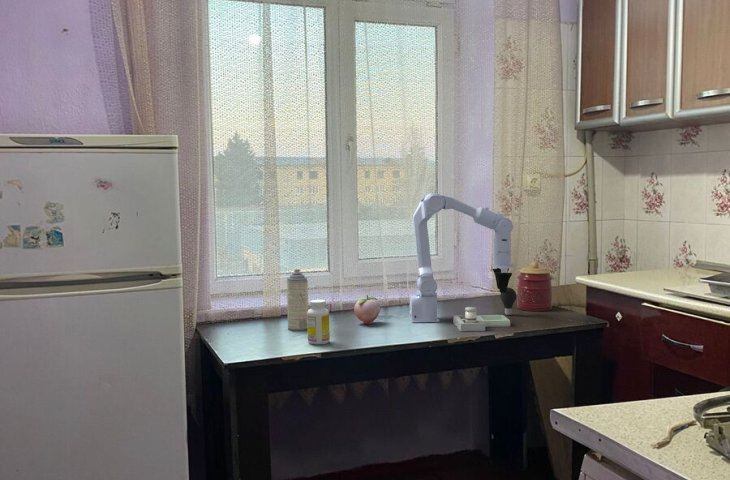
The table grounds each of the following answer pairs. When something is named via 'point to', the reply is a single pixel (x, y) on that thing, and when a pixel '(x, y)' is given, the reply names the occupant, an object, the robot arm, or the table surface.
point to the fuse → (470, 314)
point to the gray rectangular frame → (468, 324)
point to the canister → (534, 288)
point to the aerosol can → (297, 301)
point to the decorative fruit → (367, 309)
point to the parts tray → (495, 320)
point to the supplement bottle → (318, 323)
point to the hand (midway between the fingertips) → (501, 290)
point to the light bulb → (508, 300)
